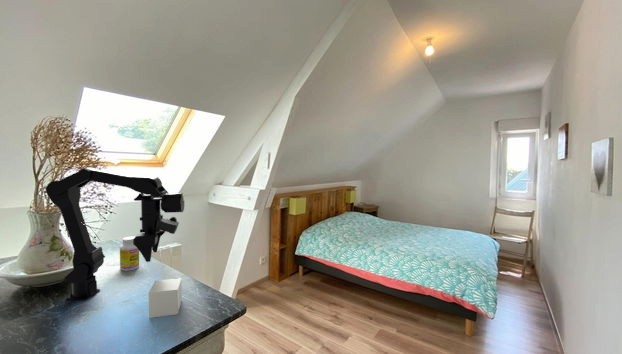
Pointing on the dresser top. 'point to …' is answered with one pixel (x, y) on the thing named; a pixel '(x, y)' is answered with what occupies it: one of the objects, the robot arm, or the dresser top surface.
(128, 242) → the supplement bottle
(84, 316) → the dresser top surface
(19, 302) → the dresser top surface
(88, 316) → the dresser top surface
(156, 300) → the white cube
